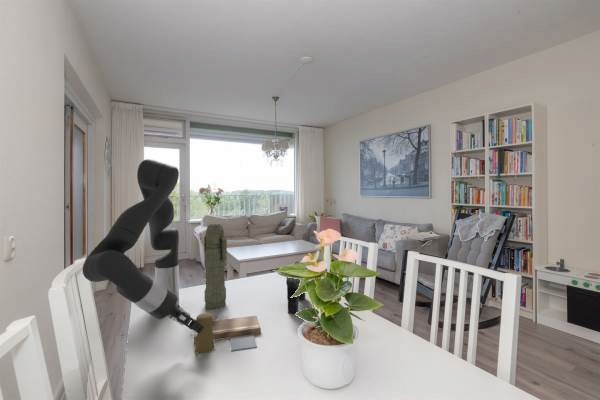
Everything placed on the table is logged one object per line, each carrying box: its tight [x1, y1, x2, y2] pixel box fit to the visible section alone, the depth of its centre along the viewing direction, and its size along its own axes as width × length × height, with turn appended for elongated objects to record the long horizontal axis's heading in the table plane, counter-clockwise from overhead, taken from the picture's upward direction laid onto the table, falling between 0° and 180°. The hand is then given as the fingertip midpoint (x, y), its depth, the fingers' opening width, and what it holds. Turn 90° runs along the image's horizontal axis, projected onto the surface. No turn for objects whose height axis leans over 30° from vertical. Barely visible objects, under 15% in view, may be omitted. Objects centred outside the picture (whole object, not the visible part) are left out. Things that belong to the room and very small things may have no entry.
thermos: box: [203, 223, 228, 310], centre depth 125 cm, size 9×12×35 cm
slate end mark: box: [229, 334, 258, 352], centre depth 96 cm, size 8×8×1 cm
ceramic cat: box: [285, 261, 306, 315], centre depth 125 cm, size 20×6×20 cm, turn 165°
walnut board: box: [193, 315, 262, 343], centre depth 104 cm, size 22×10×2 cm, turn 107°
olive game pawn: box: [194, 312, 216, 355], centre depth 92 cm, size 6×6×11 cm
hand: (194, 325), depth 90 cm, fingers open, 8 cm apart
